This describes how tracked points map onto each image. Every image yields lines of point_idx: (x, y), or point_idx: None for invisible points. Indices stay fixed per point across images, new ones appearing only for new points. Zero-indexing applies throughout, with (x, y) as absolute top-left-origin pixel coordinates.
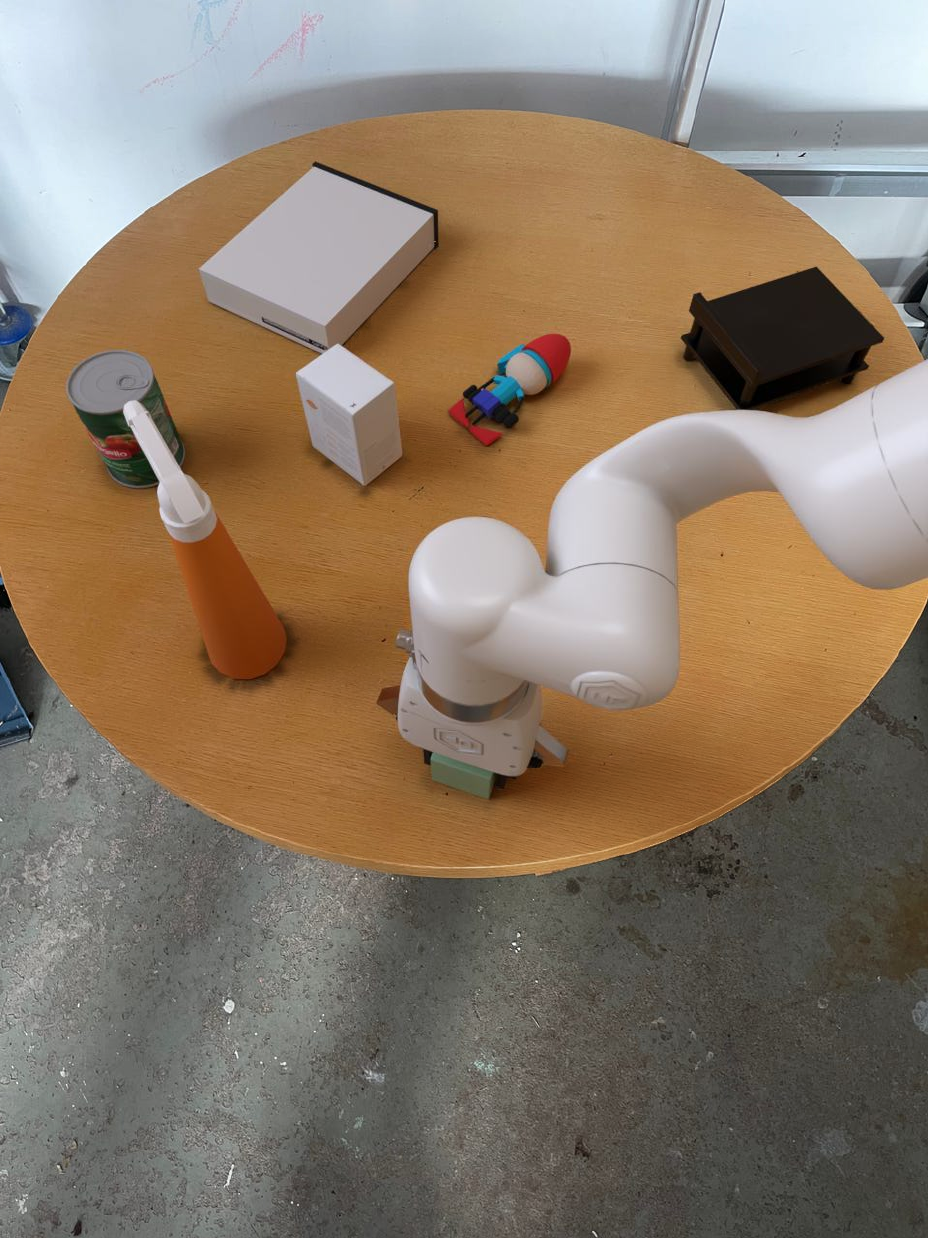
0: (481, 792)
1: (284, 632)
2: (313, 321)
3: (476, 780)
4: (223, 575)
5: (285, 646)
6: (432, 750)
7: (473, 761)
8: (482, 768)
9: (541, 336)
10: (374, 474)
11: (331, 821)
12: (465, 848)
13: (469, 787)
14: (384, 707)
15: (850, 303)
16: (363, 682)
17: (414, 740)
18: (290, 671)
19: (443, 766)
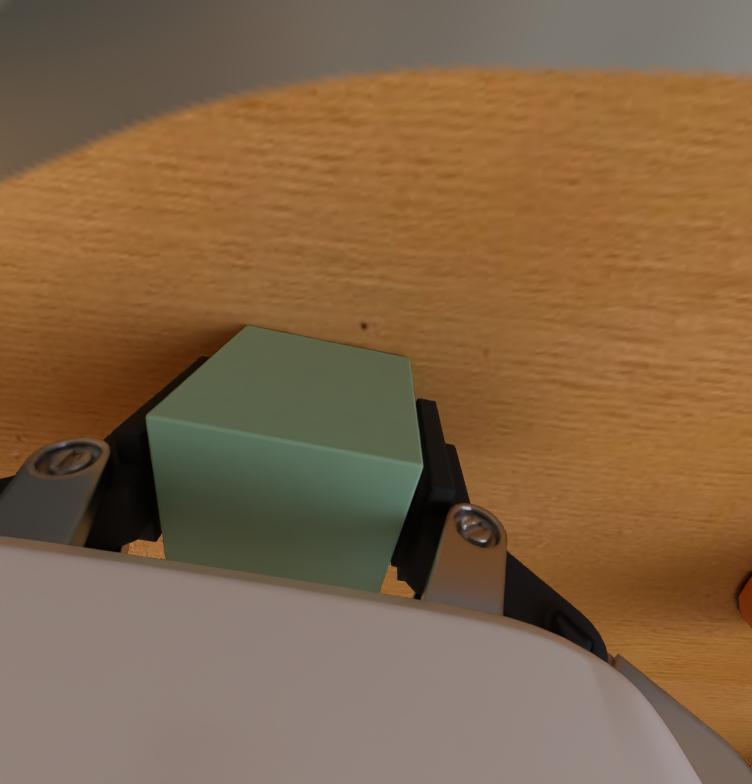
0: (255, 343)
1: (749, 614)
2: None
3: (238, 392)
4: None
5: (748, 590)
6: (421, 640)
7: (34, 660)
8: (31, 554)
9: None
10: None
11: (736, 185)
12: (271, 152)
13: (290, 354)
14: (692, 734)
15: None
16: (580, 539)
17: (588, 761)
18: (744, 547)
19: (366, 436)
